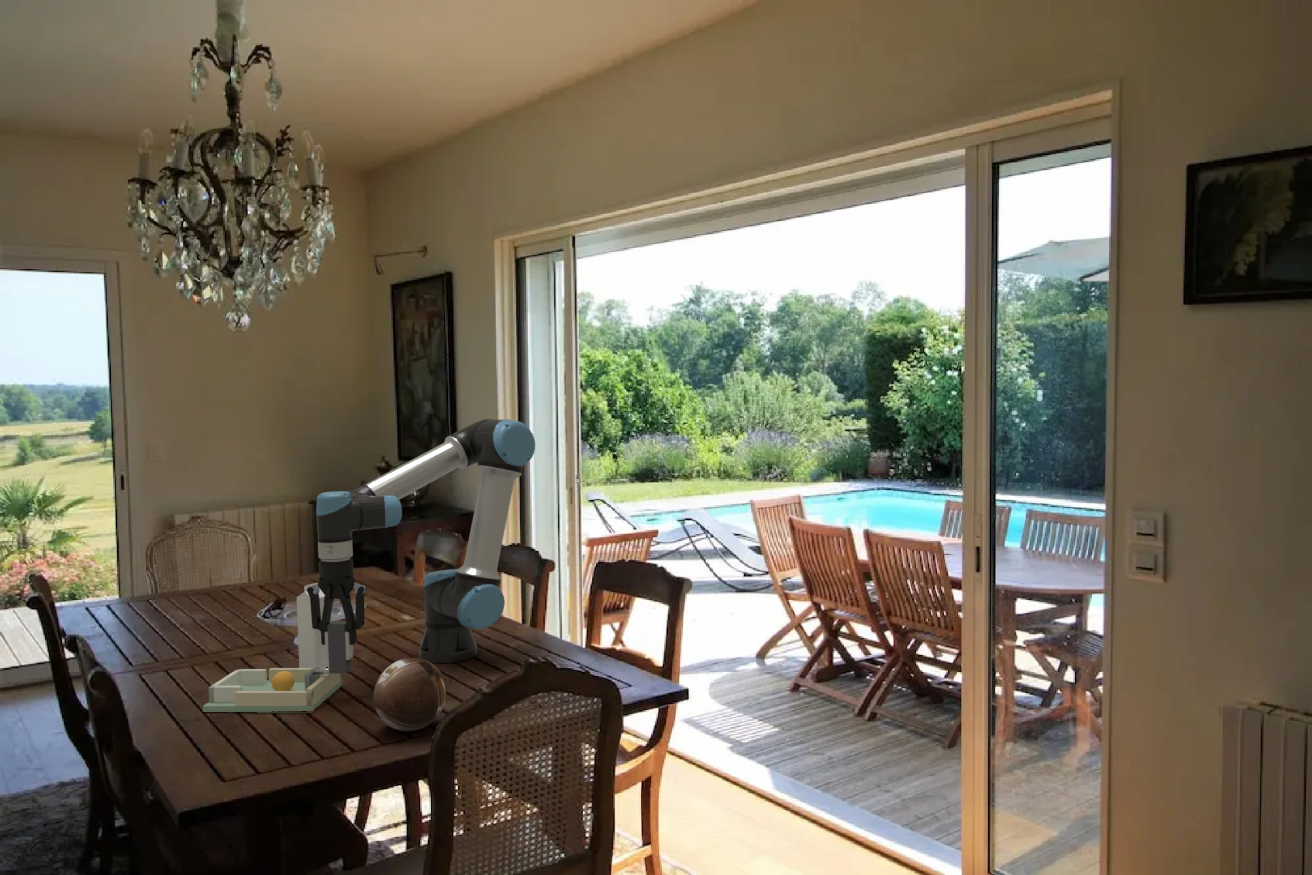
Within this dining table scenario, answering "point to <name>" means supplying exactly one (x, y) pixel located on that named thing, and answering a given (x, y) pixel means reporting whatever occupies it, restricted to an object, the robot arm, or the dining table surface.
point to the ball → (283, 681)
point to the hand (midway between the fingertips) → (339, 657)
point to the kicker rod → (332, 654)
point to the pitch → (269, 691)
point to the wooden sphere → (410, 694)
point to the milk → (310, 633)
